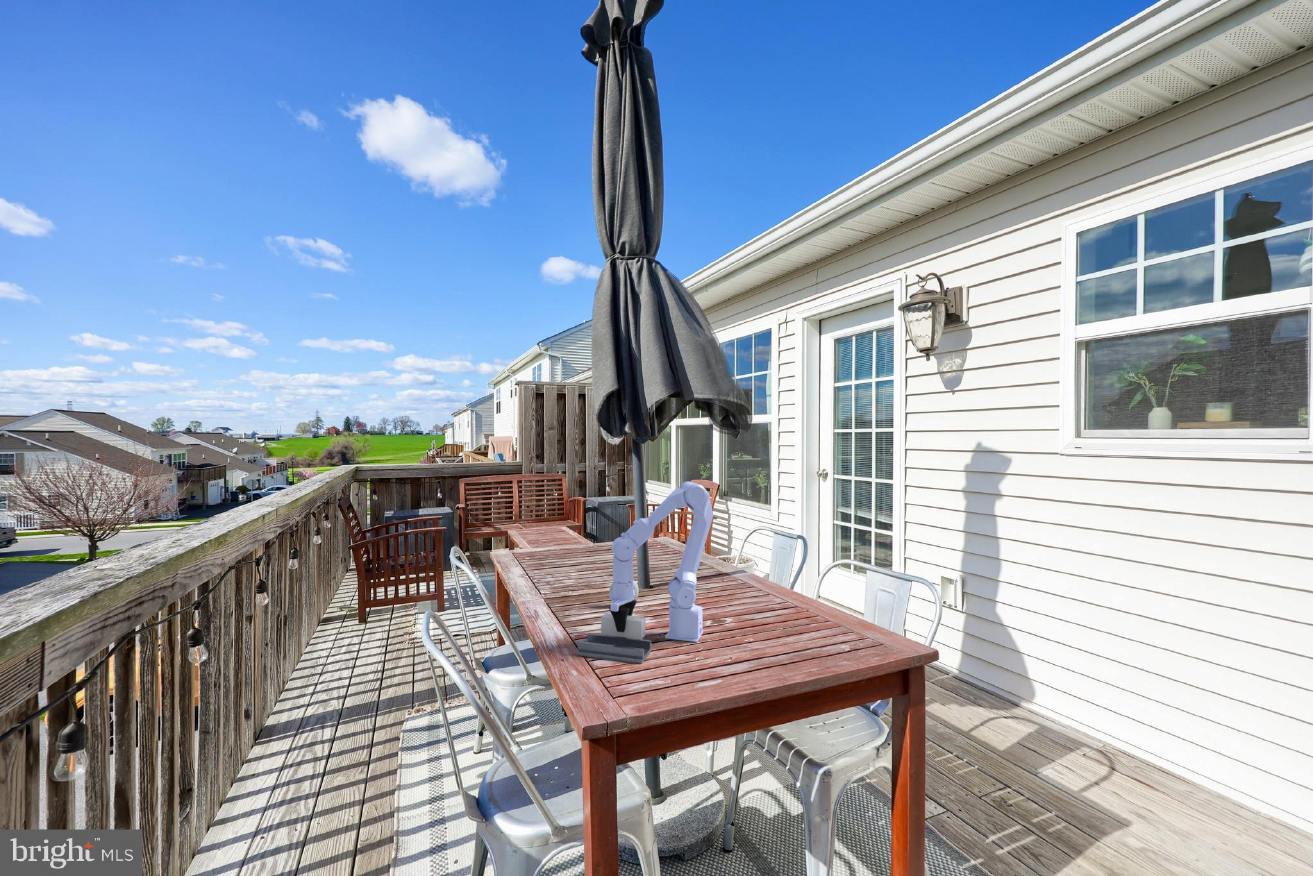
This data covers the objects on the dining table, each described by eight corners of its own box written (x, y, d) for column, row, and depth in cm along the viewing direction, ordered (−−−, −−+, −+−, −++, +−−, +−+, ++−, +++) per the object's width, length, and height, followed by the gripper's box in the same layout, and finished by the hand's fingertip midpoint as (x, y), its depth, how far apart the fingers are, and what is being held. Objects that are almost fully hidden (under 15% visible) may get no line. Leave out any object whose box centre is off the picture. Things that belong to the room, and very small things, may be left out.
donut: (609, 608, 179) (609, 578, 179) (608, 605, 183) (608, 576, 183) (639, 607, 181) (639, 577, 181) (638, 604, 184) (638, 574, 184)
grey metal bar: (645, 634, 152) (645, 617, 152) (641, 639, 149) (641, 621, 148) (605, 630, 155) (605, 613, 155) (601, 634, 152) (601, 617, 152)
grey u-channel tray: (652, 650, 145) (652, 638, 145) (641, 663, 136) (641, 651, 136) (590, 642, 150) (590, 631, 150) (576, 655, 141) (576, 643, 141)
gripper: (618, 573, 160) (619, 619, 160) (599, 586, 146) (600, 636, 146) (641, 575, 158) (641, 621, 158) (624, 588, 144) (624, 639, 144)
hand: (623, 629), depth 152 cm, fingers closed on grey metal bar, 3 cm apart
